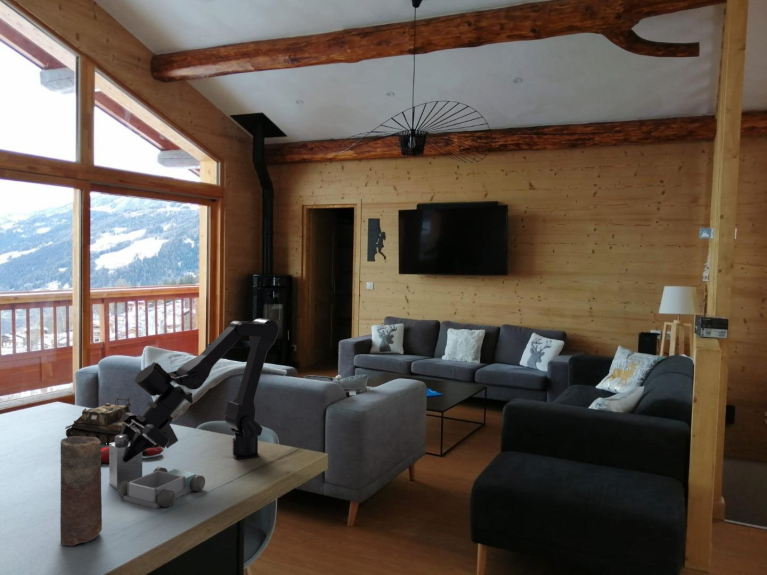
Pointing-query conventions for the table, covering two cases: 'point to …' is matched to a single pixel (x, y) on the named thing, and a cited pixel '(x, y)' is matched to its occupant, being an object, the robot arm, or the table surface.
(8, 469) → the table surface
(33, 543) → the table surface
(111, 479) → the block
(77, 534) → the candle
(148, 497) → the chassis
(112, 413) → the model tank
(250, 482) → the table surface
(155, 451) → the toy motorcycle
